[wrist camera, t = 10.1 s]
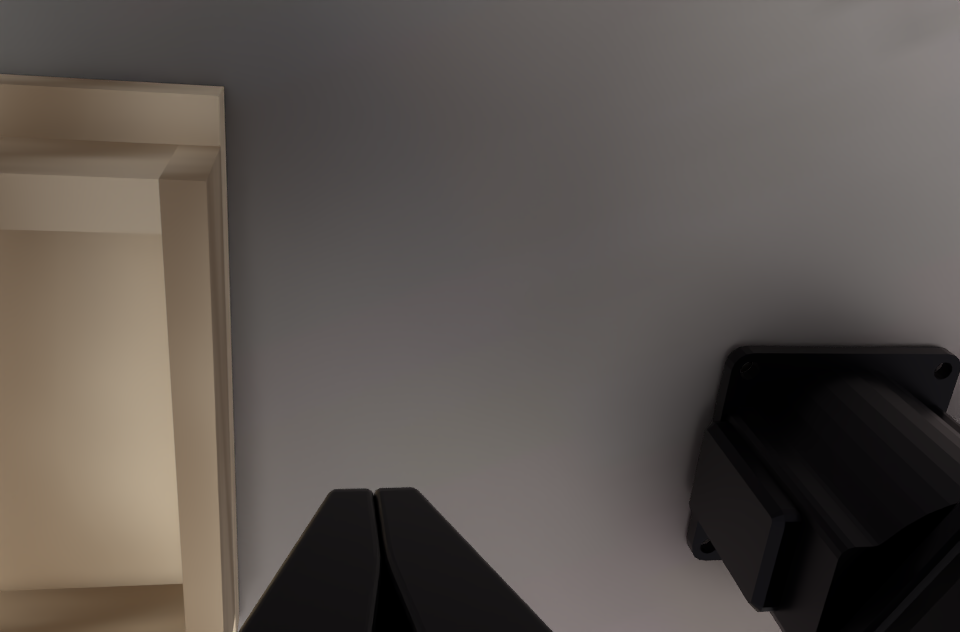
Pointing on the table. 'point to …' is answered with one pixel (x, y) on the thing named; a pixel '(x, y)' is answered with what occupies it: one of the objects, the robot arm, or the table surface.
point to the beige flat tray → (115, 359)
